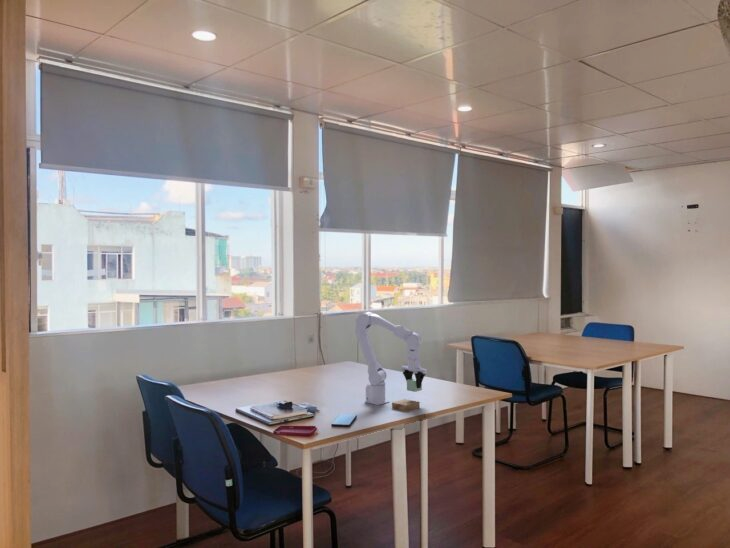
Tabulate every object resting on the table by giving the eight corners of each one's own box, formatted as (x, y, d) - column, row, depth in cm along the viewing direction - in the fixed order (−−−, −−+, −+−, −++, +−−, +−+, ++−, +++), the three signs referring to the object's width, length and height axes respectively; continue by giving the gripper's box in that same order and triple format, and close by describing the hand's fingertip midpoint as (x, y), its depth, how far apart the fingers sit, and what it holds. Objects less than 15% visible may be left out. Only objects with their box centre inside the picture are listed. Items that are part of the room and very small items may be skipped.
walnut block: (392, 408, 269) (391, 402, 269) (405, 405, 276) (404, 399, 276) (406, 412, 263) (406, 405, 263) (419, 408, 269) (419, 402, 269)
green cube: (406, 390, 275) (406, 379, 275) (413, 388, 278) (413, 378, 278) (415, 391, 271) (414, 381, 271) (421, 390, 275) (421, 379, 275)
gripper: (431, 359, 272) (431, 387, 272) (407, 355, 282) (408, 383, 283) (421, 361, 267) (422, 390, 267) (398, 357, 277) (398, 385, 278)
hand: (414, 387), depth 275 cm, fingers closed on green cube, 5 cm apart
